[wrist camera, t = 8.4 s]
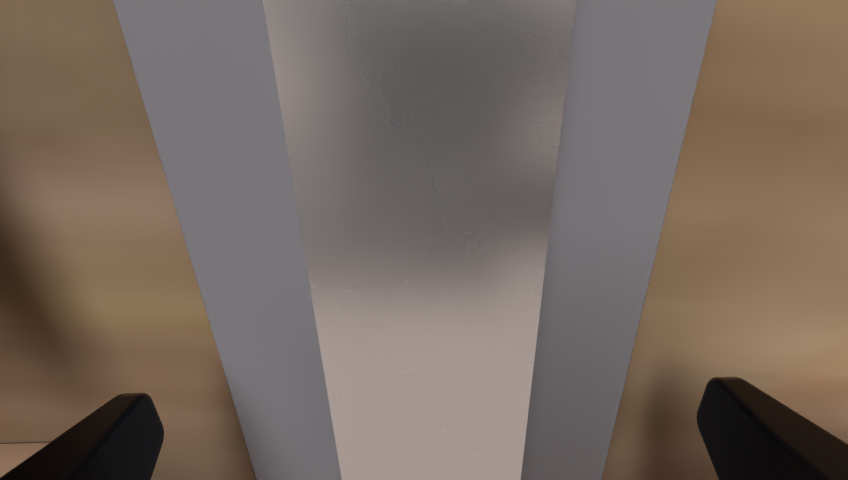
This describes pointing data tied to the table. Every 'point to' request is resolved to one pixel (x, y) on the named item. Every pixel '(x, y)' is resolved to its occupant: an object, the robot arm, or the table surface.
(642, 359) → the table surface
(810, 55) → the table surface
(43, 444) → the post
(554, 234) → the mat
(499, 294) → the rail
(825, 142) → the table surface
